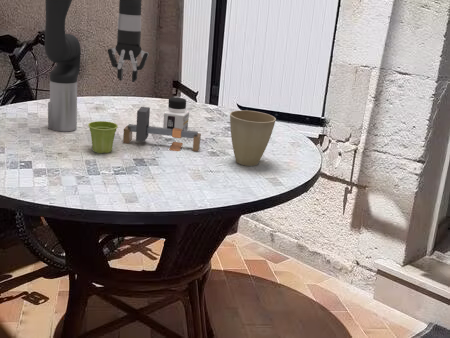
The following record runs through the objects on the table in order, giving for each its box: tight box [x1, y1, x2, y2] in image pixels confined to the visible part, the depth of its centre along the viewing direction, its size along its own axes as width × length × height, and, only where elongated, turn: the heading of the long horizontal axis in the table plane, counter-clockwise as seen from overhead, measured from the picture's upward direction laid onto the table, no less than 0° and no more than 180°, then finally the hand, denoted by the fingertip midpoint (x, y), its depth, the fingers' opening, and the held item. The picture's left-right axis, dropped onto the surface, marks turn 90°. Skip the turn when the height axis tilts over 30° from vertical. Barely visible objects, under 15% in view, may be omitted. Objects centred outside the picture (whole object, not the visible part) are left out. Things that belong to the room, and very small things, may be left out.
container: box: [162, 96, 190, 131], centre depth 210 cm, size 8×8×13 cm
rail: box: [122, 123, 202, 152], centre depth 193 cm, size 26×9×6 cm, turn 87°
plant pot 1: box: [87, 120, 119, 154], centre depth 181 cm, size 9×9×9 cm
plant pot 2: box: [229, 109, 277, 167], centre depth 183 cm, size 15×15×16 cm
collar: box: [135, 106, 151, 143], centre depth 192 cm, size 3×7×10 cm, turn 177°
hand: (127, 80), depth 187 cm, fingers open, 3 cm apart
